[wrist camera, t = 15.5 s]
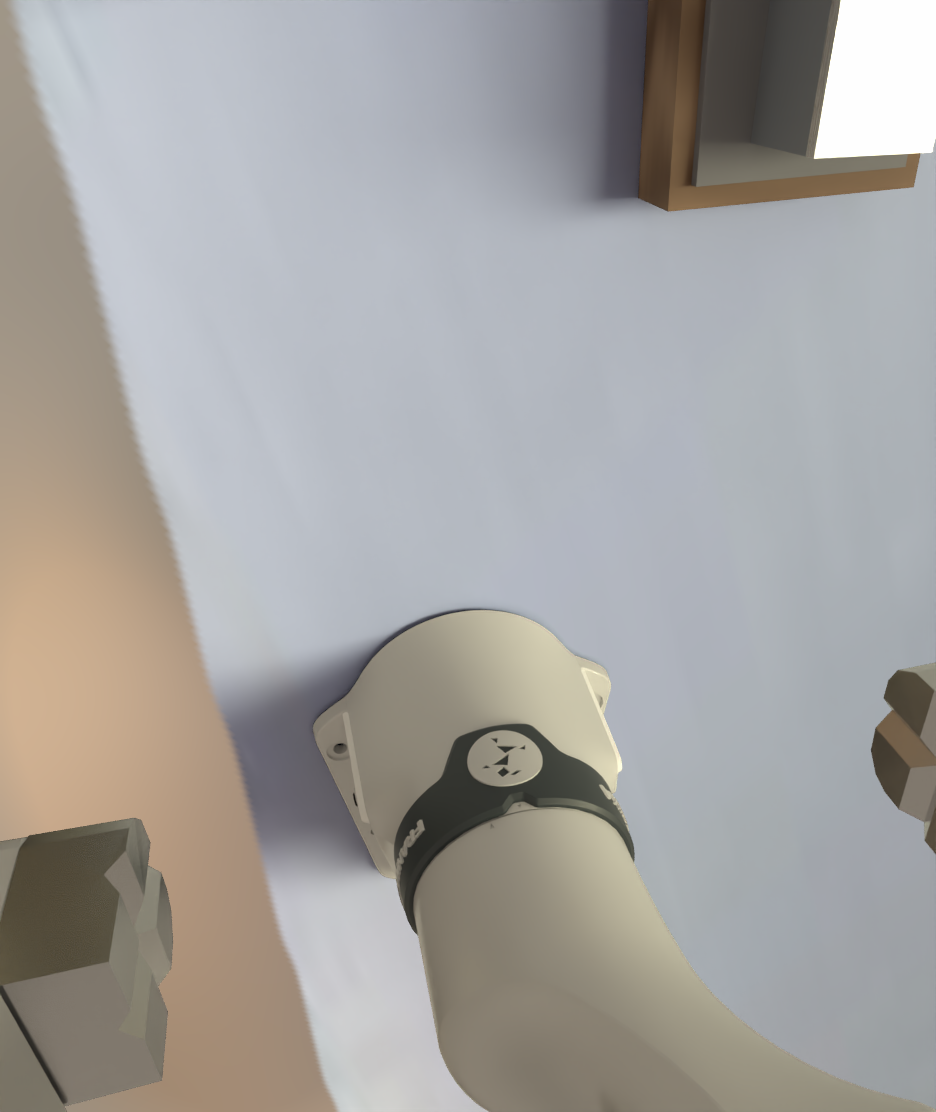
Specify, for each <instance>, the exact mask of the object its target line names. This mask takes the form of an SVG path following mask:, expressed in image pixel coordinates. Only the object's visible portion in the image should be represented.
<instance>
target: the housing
mask: <svg viewBox="0 0 936 1112" xmlns="http://www.w3.org/2000/svg"><path fill="white" fill-rule="evenodd" d="M935 136H936V0H770V5H769V12H768V20H767V27H766V34H765V42H764V49H763V56H762V63H761V71H760V78H759V85H758V93H757V100H756V107H755V115H754V122H753V129H752V136H751V143H753V144H757V145H761V146H765V147H769V148H773V149H777V150H781V151H785V152H789V153H793V154H797V155H801V156H806V157H810V158H814V159H816V158H834V157H853V156H872V155H890V154H909V153H928V152H932V149H933V144H934V140H935Z"/></svg>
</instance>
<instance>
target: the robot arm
mask: <svg viewBox="0 0 936 1112" xmlns="http://www.w3.org/2000/svg"><path fill="white" fill-rule="evenodd" d="M610 689H611V682H610V679H609V677H608V674H607V672H606V670H605V669H604V668H603V667H602V666H600V665H598V664H596V663H594V662H592V661H589V660H586V659H584V658H581V657H578V656H575V655H573V654H572V653H571V652H569V651H568V650H567V649H566V648H565V647H564V646H563V645H562V643H561V642H560V641H559V640H558V639H557V638H556V637H555V636H554V635H553V634H552V633H551V632H549V631H548V630H547V629H546V628H544V627H542V626H541V625H539V624H538V623H536V622H534V621H532V620H530V619H527V618H525V617H522V616H519V615H515V614H511V613H507V612H501V611H492V610H473V611H463V612H457V613H452V614H447V615H443V616H440V617H437V618H434V619H431V620H428V621H426V622H423V623H421V624H419V625H416V626H414V627H413V628H411V629H409V630H407V631H405V632H404V633H402V634H400V635H399V636H397V637H396V638H395V639H393V640H392V641H391V642H389V643H388V644H387V645H386V646H384V647H383V648H382V649H381V650H380V651H379V652H378V653H377V654H376V655H375V656H374V657H373V658H372V660H371V661H370V662H369V663H368V665H367V666H366V667H365V669H364V670H363V672H362V673H361V675H360V677H359V678H358V680H357V681H356V683H355V685H354V686H353V688H352V689H351V690H350V692H349V693H348V694H347V695H346V696H345V697H344V698H342V699H341V700H340V701H338V702H337V703H335V704H334V705H333V706H331V707H330V708H329V709H327V710H326V711H325V712H324V713H323V714H322V715H320V716H319V717H318V719H317V720H316V721H315V723H314V725H313V733H314V736H315V740H316V744H317V746H318V748H319V750H320V752H321V754H322V756H323V758H324V760H325V762H326V764H327V766H328V768H329V770H330V772H331V775H332V777H333V779H334V781H335V783H336V785H337V787H338V789H339V791H340V793H341V795H342V797H343V799H344V801H345V803H346V805H347V807H348V810H349V812H350V814H351V816H352V818H353V820H354V822H355V824H356V826H357V828H358V830H359V832H360V834H361V836H362V838H363V840H364V842H365V845H366V847H367V849H368V851H369V853H370V855H371V857H372V859H373V861H374V863H375V865H376V867H377V869H378V871H379V872H380V874H381V875H383V876H384V877H388V878H392V879H396V882H397V887H398V892H399V897H400V900H401V903H402V905H403V908H404V910H405V913H406V916H407V919H408V922H409V924H410V925H411V927H412V929H413V931H414V932H415V933H416V934H417V935H418V938H419V943H420V949H421V954H422V959H423V965H424V970H425V975H426V981H427V986H428V991H429V997H430V1002H431V1007H432V1012H433V1018H434V1023H435V1028H436V1034H437V1039H438V1045H439V1049H440V1052H441V1055H442V1057H443V1060H444V1062H445V1064H446V1066H447V1068H448V1070H449V1072H450V1073H451V1075H452V1077H453V1078H454V1080H455V1082H456V1083H457V1084H458V1085H459V1087H460V1088H461V1089H462V1090H463V1091H464V1092H465V1094H466V1095H468V1096H469V1097H470V1098H471V1099H472V1100H473V1101H474V1102H475V1103H476V1104H478V1105H479V1106H481V1107H482V1108H484V1109H485V1110H487V1111H488V1112H936V1109H934V1108H931V1107H929V1106H927V1105H925V1104H922V1103H920V1102H917V1101H912V1100H907V1099H903V1098H899V1097H895V1096H892V1095H888V1094H884V1093H881V1092H877V1091H874V1090H870V1089H867V1088H864V1087H861V1086H858V1085H856V1084H853V1083H850V1082H848V1081H845V1080H842V1079H839V1078H837V1077H835V1076H833V1075H830V1074H828V1073H826V1072H824V1071H822V1070H820V1069H818V1068H816V1067H813V1066H811V1065H809V1064H807V1063H805V1062H803V1061H802V1060H800V1059H798V1058H797V1057H795V1056H793V1055H791V1054H790V1053H788V1052H786V1051H784V1050H783V1049H781V1048H779V1047H778V1046H776V1045H775V1044H773V1043H772V1042H770V1041H769V1040H767V1039H766V1038H764V1037H763V1036H761V1035H760V1034H758V1033H757V1032H756V1031H754V1030H753V1029H752V1028H751V1027H749V1026H748V1025H747V1024H746V1023H744V1022H743V1021H742V1020H741V1019H739V1018H738V1017H737V1016H736V1015H735V1014H734V1013H732V1012H731V1011H730V1010H729V1009H728V1008H727V1007H726V1006H725V1005H724V1004H723V1003H722V1002H721V1001H720V1000H719V999H718V998H717V997H716V996H715V995H714V994H713V993H712V992H711V991H710V990H709V989H708V988H707V986H706V985H705V984H704V983H703V982H702V980H701V979H700V978H699V977H698V975H697V974H696V973H695V971H694V970H693V968H692V967H691V965H690V964H689V962H688V961H687V959H686V958H685V956H684V955H683V953H682V951H681V950H680V948H679V946H678V945H677V943H676V941H675V940H674V938H673V936H672V935H671V933H670V931H669V930H668V928H667V926H666V924H665V922H664V921H663V919H662V917H661V915H660V913H659V911H658V910H657V908H656V906H655V904H654V902H653V900H652V898H651V896H650V894H649V892H648V890H647V888H646V887H645V885H644V883H643V881H642V879H641V877H640V875H639V872H638V870H637V868H636V866H635V864H634V846H633V842H632V839H631V836H630V833H629V829H628V824H627V821H626V819H625V816H624V814H623V812H622V809H621V807H620V805H619V803H618V801H617V800H616V798H614V796H613V795H612V794H613V793H615V791H616V786H617V784H616V782H617V776H618V773H619V772H620V771H621V770H622V762H621V758H620V755H619V752H618V750H617V747H616V745H615V742H614V740H613V738H612V735H611V733H610V730H609V728H608V725H607V723H606V721H605V718H604V716H603V714H604V711H605V707H606V704H607V700H608V697H609V693H610ZM884 699H885V701H886V702H887V704H888V705H889V707H890V708H891V710H892V711H891V712H890V713H889V714H888V715H887V716H886V717H885V718H884V719H883V720H882V722H881V723H880V724H879V725H878V726H877V727H876V729H875V734H874V738H873V743H872V748H871V753H872V758H873V763H874V768H875V773H876V775H877V777H878V779H879V781H880V783H881V785H882V787H883V789H884V791H885V793H886V794H887V795H888V796H889V798H890V799H891V800H892V801H893V803H894V804H895V805H896V806H897V808H898V809H899V810H901V811H903V812H905V813H907V814H909V815H911V816H913V817H915V818H917V819H919V820H921V821H923V822H924V837H925V842H926V843H927V844H928V845H929V847H930V848H931V849H932V850H933V851H934V853H935V854H936V662H935V663H930V664H925V665H921V666H916V667H911V668H906V669H901V670H898V671H897V672H896V673H895V674H894V675H893V676H892V677H891V678H890V679H889V680H888V684H887V688H886V691H885V695H884ZM339 743H344V744H343V745H340V746H337V745H336V744H339ZM149 849H150V841H149V838H148V836H147V833H146V831H145V828H144V826H143V824H142V821H141V820H139V819H136V818H130V819H125V820H119V821H113V822H107V823H101V824H95V825H89V826H83V827H77V828H72V829H65V830H60V831H53V832H47V833H42V834H36V835H30V836H28V837H25V838H18V839H12V840H6V841H0V1112H67V1111H66V1108H65V1107H64V1106H68V1105H72V1104H75V1103H79V1102H83V1101H87V1100H91V1099H94V1098H98V1097H102V1096H106V1095H109V1094H113V1093H117V1092H121V1091H124V1090H128V1089H132V1088H136V1087H139V1086H143V1085H147V1084H151V1083H154V1082H158V1081H162V1074H163V1062H164V1051H165V1039H166V1026H167V1015H168V1011H167V1008H166V1006H165V1003H164V1001H163V998H162V996H161V993H160V990H159V988H158V986H159V985H160V983H161V982H162V980H163V979H164V978H165V976H166V975H167V974H168V972H169V971H170V969H171V963H172V949H173V933H172V916H171V907H170V903H169V897H168V893H167V888H166V885H165V883H164V879H163V877H162V874H161V872H159V871H157V870H155V869H154V868H152V867H150V866H148V859H149Z"/></svg>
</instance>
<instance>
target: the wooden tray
mask: <svg viewBox="0 0 936 1112" xmlns="http://www.w3.org/2000/svg"><path fill="white" fill-rule="evenodd" d="M769 5H770V0H648V15H647V35H646V55H645V75H644V95H643V115H642V135H641V155H640V175H639V195H638V198H640V199H642V200H644V201H646V202H648V203H651V204H653V205H655V206H657V207H659V208H662V209H664V210H666V211H678V210H688V209H698V208H708V207H718V206H728V205H738V204H748V203H758V202H769V201H779V200H789V199H799V198H809V197H819V196H829V195H839V194H849V193H860V192H870V191H880V190H890V189H900V188H910V187H914V183H915V178H916V173H917V168H918V163H919V158H920V153H909V154H890V155H872V156H853V157H834V158H816V159H814V158H810V157H806V156H801V155H797V154H793V153H789V152H785V151H781V150H777V149H773V148H769V147H765V146H761V145H757V144H753V143H751V136H752V129H753V122H754V115H755V107H756V100H757V93H758V85H759V78H760V71H761V63H762V56H763V49H764V42H765V34H766V27H767V20H768V12H769Z"/></svg>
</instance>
